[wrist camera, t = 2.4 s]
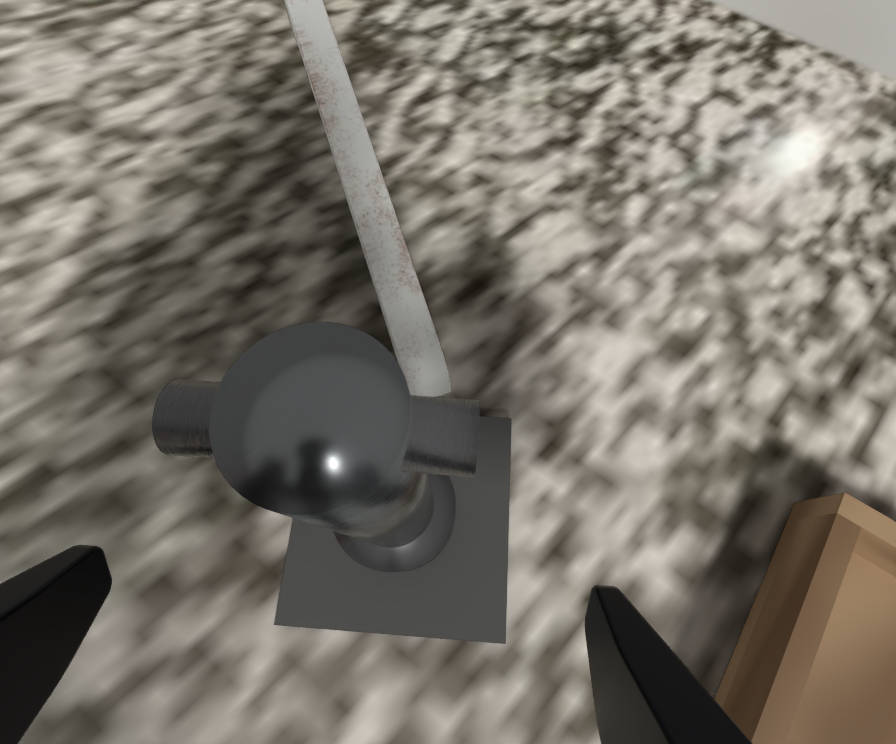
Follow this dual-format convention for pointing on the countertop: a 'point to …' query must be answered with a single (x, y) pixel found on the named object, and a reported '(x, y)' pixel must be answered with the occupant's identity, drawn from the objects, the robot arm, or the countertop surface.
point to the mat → (421, 590)
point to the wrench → (369, 203)
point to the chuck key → (331, 441)
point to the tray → (820, 632)
